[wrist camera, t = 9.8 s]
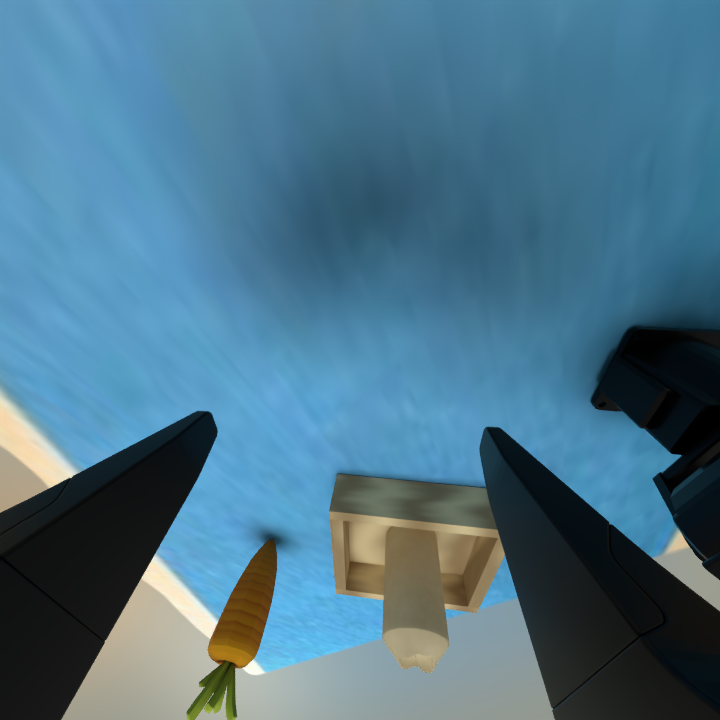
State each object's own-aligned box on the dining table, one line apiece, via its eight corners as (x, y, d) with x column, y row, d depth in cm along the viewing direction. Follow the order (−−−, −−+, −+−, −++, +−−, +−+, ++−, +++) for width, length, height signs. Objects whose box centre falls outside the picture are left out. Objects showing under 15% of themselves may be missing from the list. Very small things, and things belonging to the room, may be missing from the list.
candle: (447, 538, 31) (467, 672, 22) (412, 555, 33) (417, 682, 24) (409, 515, 29) (414, 648, 21) (375, 535, 32) (367, 660, 23)
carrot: (299, 543, 36) (245, 734, 24) (274, 553, 38) (212, 734, 26) (269, 523, 35) (195, 715, 22) (246, 535, 37) (164, 717, 24)
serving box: (501, 489, 27) (516, 531, 24) (469, 572, 35) (476, 612, 32) (337, 473, 29) (329, 511, 25) (341, 556, 37) (336, 593, 33)
